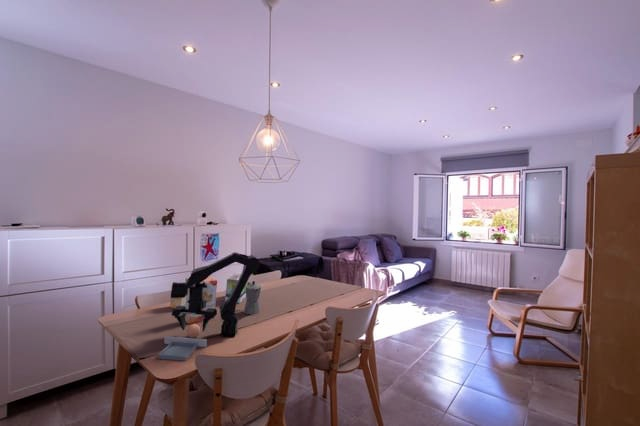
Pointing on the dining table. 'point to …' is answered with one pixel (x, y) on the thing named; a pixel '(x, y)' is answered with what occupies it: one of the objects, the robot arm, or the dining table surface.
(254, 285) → the coffeepot
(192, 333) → the ball
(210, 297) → the cracker box
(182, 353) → the grey square tray
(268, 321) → the dining table surface
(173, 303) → the supplement box
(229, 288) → the tea box
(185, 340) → the wall
